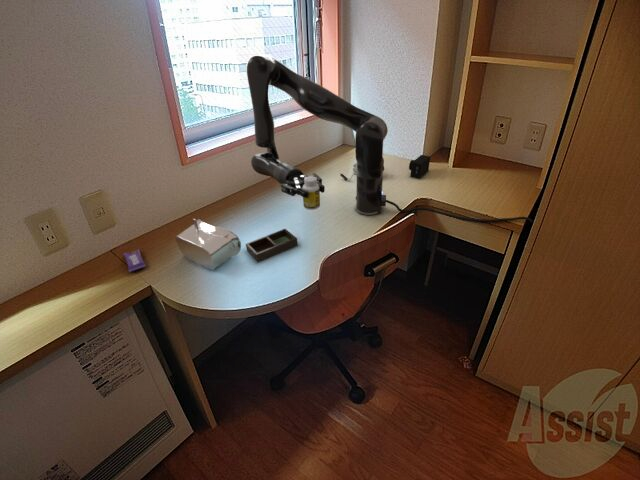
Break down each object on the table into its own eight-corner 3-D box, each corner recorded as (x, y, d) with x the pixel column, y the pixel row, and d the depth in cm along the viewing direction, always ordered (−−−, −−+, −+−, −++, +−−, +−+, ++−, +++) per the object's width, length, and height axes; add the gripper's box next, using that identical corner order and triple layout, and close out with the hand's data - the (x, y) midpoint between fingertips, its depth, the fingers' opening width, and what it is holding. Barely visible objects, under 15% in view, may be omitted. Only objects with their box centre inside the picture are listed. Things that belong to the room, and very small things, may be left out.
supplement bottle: (318, 210, 114) (316, 182, 109) (302, 209, 115) (299, 182, 110) (321, 202, 119) (320, 175, 113) (305, 202, 120) (303, 174, 114)
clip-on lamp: (352, 191, 154) (386, 173, 158) (350, 179, 149) (385, 161, 154) (338, 179, 162) (370, 163, 166) (335, 167, 158) (369, 151, 162)
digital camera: (417, 168, 164) (418, 154, 160) (428, 171, 161) (430, 156, 158) (407, 176, 157) (409, 161, 153) (419, 179, 155) (421, 163, 151)
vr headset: (244, 256, 112) (236, 216, 104) (216, 275, 105) (205, 234, 97) (206, 239, 121) (196, 201, 113) (177, 256, 114) (165, 216, 106)
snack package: (145, 263, 108) (127, 269, 106) (147, 268, 109) (129, 274, 107) (138, 245, 116) (121, 251, 114) (140, 250, 117) (124, 256, 115)
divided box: (297, 245, 116) (297, 238, 114) (257, 262, 109) (256, 254, 107) (285, 235, 121) (285, 228, 119) (246, 251, 114) (245, 243, 113)
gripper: (268, 171, 118) (295, 188, 106) (304, 160, 125) (333, 175, 113) (270, 191, 122) (297, 210, 111) (306, 180, 129) (334, 196, 117)
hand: (315, 192), depth 112 cm, fingers closed on supplement bottle, 5 cm apart
